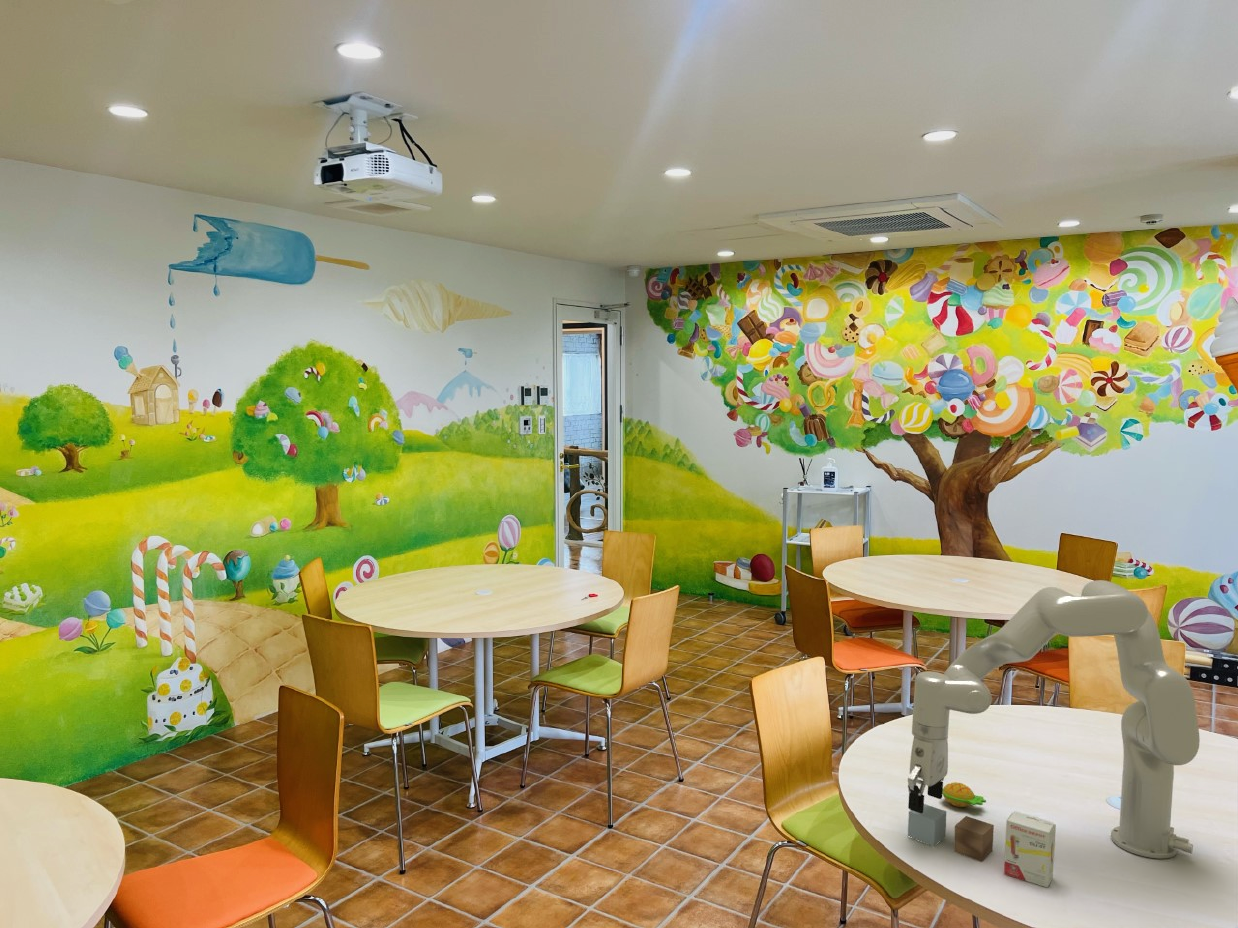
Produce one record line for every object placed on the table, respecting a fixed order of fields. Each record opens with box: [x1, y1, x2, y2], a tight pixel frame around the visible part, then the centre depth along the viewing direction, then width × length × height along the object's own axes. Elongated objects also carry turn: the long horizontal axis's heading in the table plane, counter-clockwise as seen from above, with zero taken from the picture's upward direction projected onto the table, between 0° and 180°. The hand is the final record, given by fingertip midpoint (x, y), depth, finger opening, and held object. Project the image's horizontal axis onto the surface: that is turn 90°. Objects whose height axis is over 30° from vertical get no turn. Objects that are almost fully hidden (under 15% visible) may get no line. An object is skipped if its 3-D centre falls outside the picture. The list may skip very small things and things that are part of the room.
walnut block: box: [953, 815, 995, 863], centre depth 192 cm, size 6×6×6 cm
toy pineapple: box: [942, 781, 987, 808], centre depth 213 cm, size 7×10×5 cm
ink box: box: [1003, 811, 1057, 888], centre depth 182 cm, size 9×5×12 cm, turn 52°
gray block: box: [907, 803, 947, 847], centre depth 198 cm, size 6×6×6 cm
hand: (925, 803), depth 198 cm, fingers open, 9 cm apart
